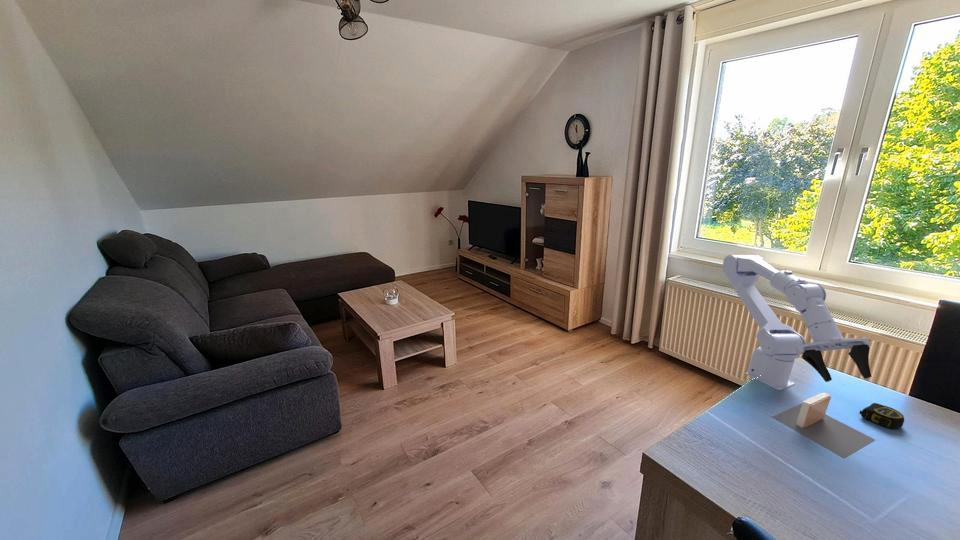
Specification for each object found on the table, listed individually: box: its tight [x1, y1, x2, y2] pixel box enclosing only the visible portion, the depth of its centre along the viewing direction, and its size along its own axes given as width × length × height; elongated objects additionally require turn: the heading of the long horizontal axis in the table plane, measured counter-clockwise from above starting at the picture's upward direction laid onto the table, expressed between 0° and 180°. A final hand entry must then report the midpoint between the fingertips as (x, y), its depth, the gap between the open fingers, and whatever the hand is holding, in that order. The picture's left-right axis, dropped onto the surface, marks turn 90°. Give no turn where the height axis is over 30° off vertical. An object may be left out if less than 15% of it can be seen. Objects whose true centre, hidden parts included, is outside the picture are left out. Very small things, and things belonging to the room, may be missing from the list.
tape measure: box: [858, 402, 905, 430], centre depth 95 cm, size 7×7×4 cm
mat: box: [771, 402, 876, 459], centre depth 93 cm, size 15×14×1 cm
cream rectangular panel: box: [796, 392, 832, 428], centre depth 94 cm, size 2×9×7 cm, turn 114°
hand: (848, 379), depth 90 cm, fingers open, 7 cm apart
